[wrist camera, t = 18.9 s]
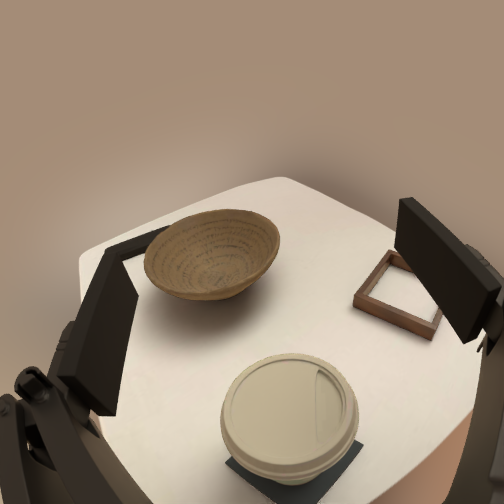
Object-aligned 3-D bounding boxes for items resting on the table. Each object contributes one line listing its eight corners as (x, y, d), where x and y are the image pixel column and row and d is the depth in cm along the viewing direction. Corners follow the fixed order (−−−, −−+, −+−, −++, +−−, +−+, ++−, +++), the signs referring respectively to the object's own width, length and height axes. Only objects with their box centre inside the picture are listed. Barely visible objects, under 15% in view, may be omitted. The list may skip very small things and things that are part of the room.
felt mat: (363, 446, 22) (364, 444, 22) (300, 519, 18) (300, 519, 17) (288, 402, 28) (288, 399, 28) (225, 463, 23) (224, 462, 23)
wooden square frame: (453, 285, 36) (457, 274, 35) (431, 340, 30) (435, 330, 29) (387, 259, 43) (388, 249, 42) (352, 306, 37) (353, 295, 36)
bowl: (312, 290, 41) (310, 241, 36) (190, 359, 34) (167, 314, 29) (243, 236, 54) (235, 195, 50) (147, 281, 48) (130, 240, 43)
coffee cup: (307, 515, 17) (309, 502, 11) (227, 467, 22) (184, 419, 15) (359, 440, 22) (387, 377, 16) (282, 403, 27) (270, 327, 20)
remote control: (174, 231, 61) (105, 254, 57) (172, 223, 60) (102, 246, 56) (178, 242, 57) (105, 266, 53) (176, 234, 56) (102, 259, 52)
